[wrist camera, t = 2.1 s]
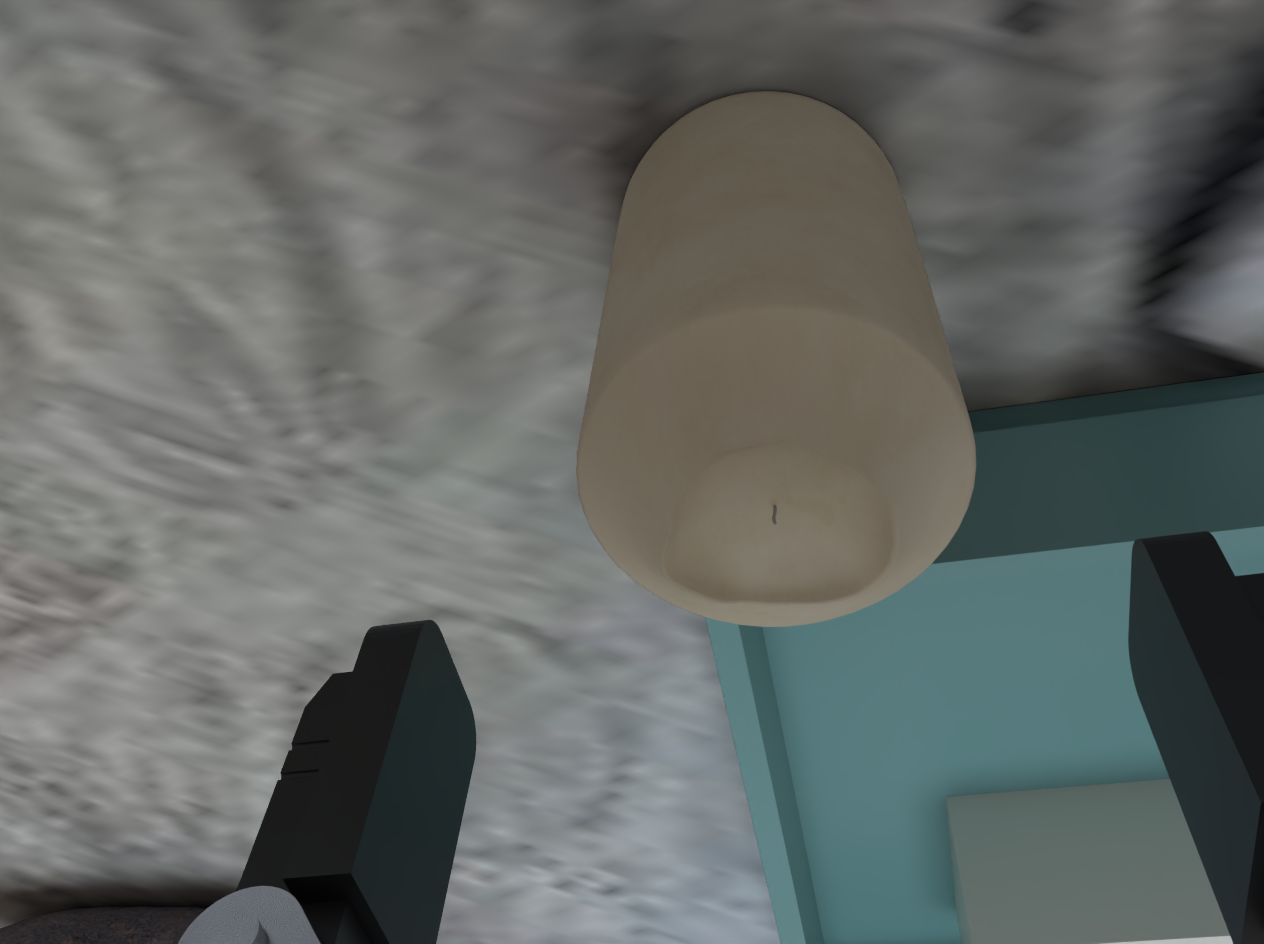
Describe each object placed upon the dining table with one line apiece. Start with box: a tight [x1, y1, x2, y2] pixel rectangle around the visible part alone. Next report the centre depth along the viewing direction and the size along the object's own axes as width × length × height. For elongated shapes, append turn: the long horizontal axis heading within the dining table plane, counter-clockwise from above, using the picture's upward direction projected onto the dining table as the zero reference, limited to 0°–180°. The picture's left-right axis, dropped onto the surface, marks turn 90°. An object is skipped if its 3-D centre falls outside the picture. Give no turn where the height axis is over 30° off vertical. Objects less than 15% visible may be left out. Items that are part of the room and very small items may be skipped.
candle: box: [576, 91, 976, 627], centre depth 20 cm, size 6×6×10 cm
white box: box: [946, 779, 1233, 944], centre depth 31 cm, size 7×5×4 cm
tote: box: [705, 372, 1264, 944], centre depth 29 cm, size 16×19×5 cm
